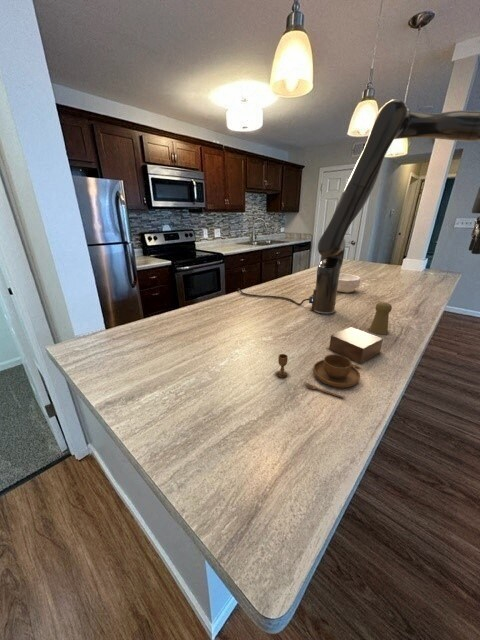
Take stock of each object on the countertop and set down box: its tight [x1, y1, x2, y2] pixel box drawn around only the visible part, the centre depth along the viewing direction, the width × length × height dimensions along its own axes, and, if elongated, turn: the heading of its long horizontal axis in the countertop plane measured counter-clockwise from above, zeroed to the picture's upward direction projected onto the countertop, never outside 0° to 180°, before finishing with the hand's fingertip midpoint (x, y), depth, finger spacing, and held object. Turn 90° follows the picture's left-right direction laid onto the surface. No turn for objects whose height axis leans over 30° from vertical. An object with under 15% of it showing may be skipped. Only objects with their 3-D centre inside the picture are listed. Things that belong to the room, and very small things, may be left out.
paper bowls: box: [337, 273, 361, 293], centre depth 147 cm, size 15×15×8 cm
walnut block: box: [328, 326, 384, 364], centre depth 83 cm, size 11×11×5 cm
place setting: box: [276, 353, 361, 399], centre depth 72 cm, size 18×20×6 cm
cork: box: [369, 301, 393, 335], centre depth 96 cm, size 6×6×11 cm
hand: (473, 252), depth 83 cm, fingers open, 8 cm apart
